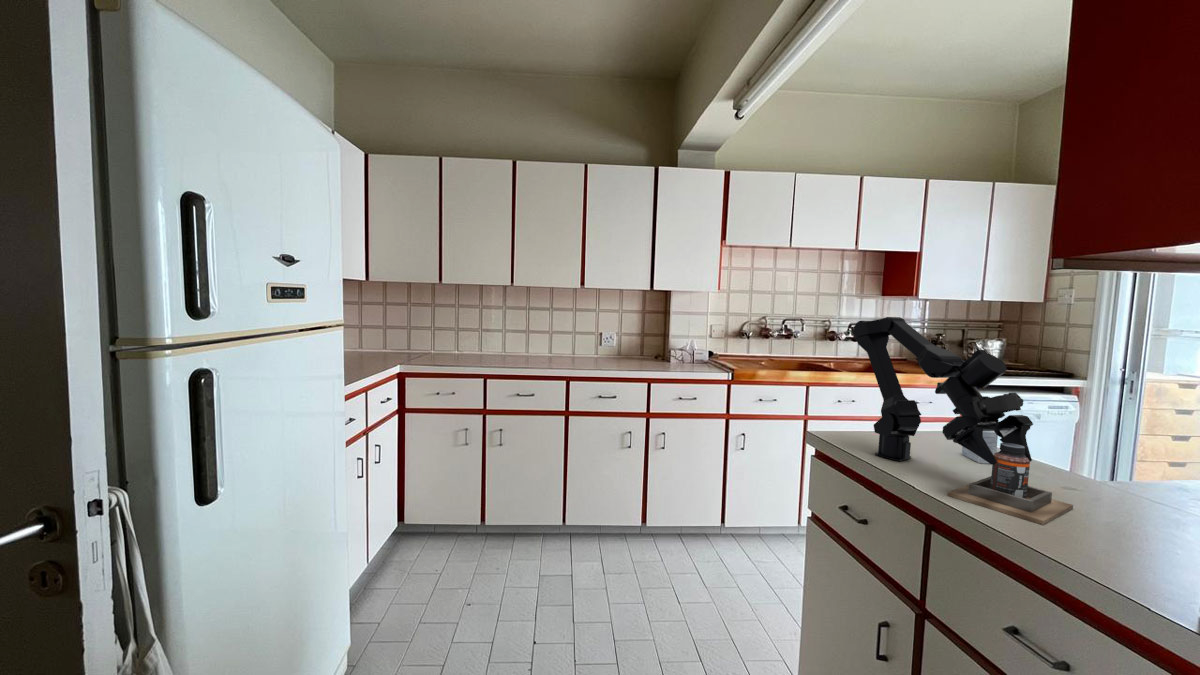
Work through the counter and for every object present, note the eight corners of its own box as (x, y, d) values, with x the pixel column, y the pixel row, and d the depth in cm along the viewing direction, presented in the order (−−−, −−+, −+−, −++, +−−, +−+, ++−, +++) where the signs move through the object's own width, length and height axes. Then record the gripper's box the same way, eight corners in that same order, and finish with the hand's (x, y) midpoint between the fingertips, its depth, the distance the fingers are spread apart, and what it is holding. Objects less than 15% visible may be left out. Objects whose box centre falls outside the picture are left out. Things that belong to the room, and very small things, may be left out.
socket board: (947, 495, 107) (948, 481, 107) (980, 483, 115) (981, 470, 115) (1042, 525, 93) (1044, 509, 93) (1072, 508, 102) (1074, 494, 102)
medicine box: (996, 464, 130) (999, 432, 130) (977, 463, 131) (980, 431, 131) (978, 456, 138) (981, 425, 138) (961, 454, 139) (963, 423, 138)
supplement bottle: (1029, 505, 101) (1034, 450, 100) (992, 499, 104) (997, 445, 103) (1022, 496, 106) (1027, 444, 105) (987, 490, 109) (991, 439, 108)
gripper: (959, 379, 106) (1007, 445, 96) (1028, 379, 110) (1080, 442, 100) (924, 407, 114) (965, 471, 104) (989, 406, 118) (1034, 467, 108)
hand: (1012, 462), depth 104 cm, fingers open, 9 cm apart
